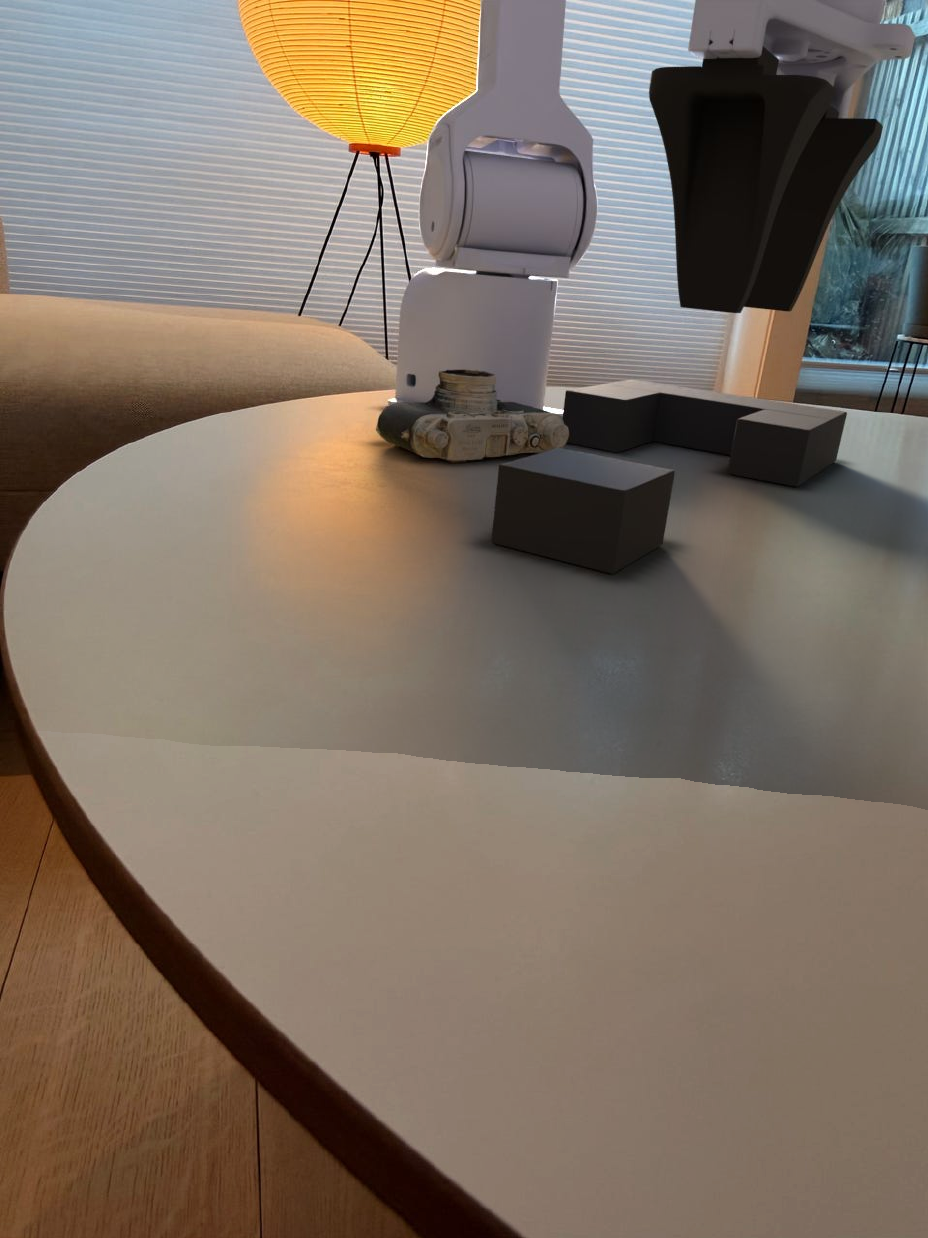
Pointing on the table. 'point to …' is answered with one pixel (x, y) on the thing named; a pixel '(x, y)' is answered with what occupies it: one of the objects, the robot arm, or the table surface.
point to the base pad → (708, 427)
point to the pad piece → (582, 508)
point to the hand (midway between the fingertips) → (740, 309)
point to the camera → (470, 422)
